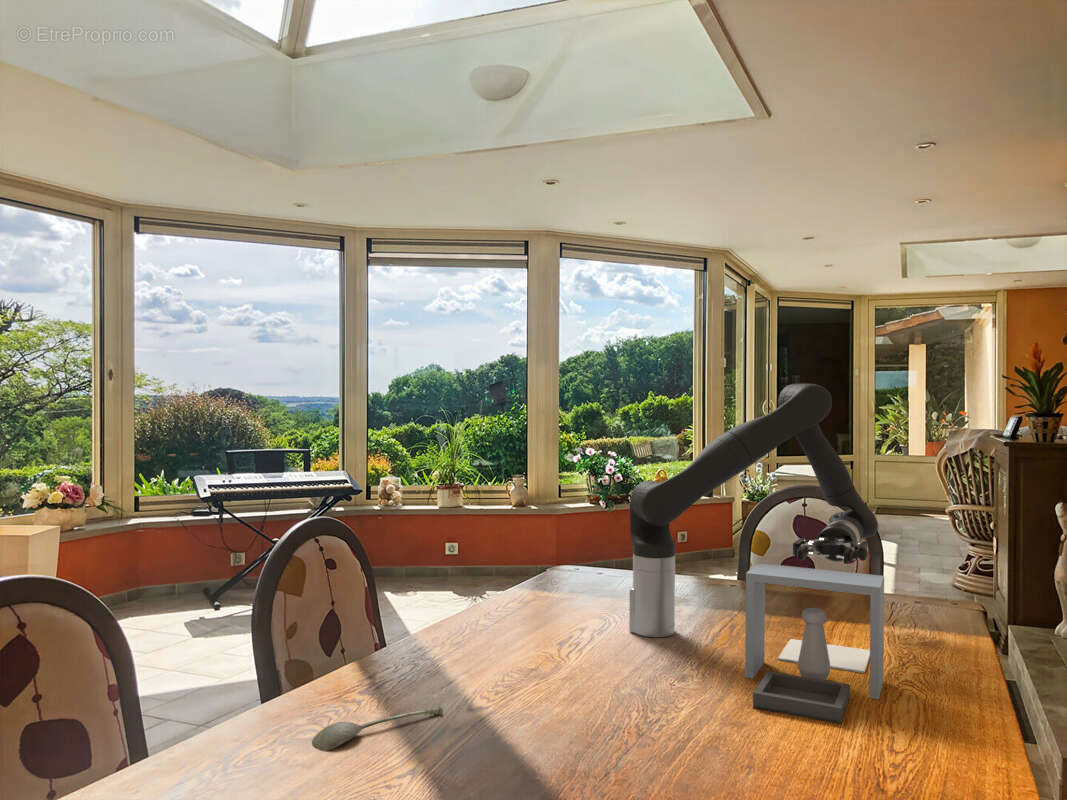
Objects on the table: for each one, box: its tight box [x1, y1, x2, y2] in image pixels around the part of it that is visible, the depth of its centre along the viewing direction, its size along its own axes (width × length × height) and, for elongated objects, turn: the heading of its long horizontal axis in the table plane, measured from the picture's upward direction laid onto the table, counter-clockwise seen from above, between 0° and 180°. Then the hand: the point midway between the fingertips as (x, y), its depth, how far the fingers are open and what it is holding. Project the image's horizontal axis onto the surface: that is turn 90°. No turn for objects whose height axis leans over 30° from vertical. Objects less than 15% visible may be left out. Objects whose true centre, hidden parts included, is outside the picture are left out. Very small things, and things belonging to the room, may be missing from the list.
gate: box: [744, 562, 885, 700], centre depth 149 cm, size 23×10×20 cm, turn 62°
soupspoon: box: [311, 705, 444, 752], centre depth 126 cm, size 22×3×7 cm
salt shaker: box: [797, 607, 832, 681], centre depth 149 cm, size 6×6×13 cm
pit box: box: [752, 671, 851, 725], centre depth 138 cm, size 14×12×2 cm
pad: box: [777, 638, 870, 674], centre depth 162 cm, size 16×14×1 cm
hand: (823, 557), depth 160 cm, fingers open, 8 cm apart
